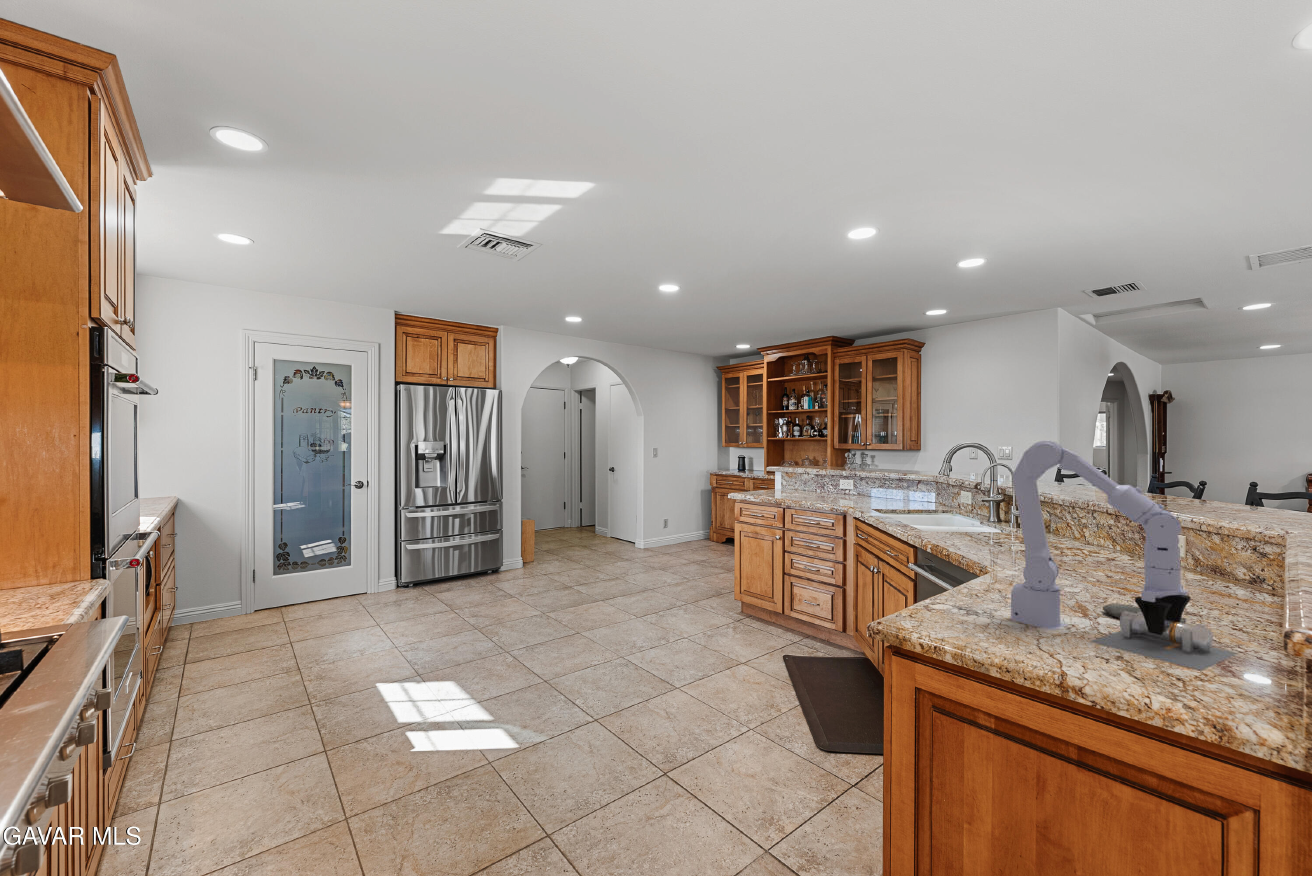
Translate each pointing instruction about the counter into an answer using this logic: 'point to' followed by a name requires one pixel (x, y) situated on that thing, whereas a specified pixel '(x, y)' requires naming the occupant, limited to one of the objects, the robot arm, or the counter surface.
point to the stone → (1119, 608)
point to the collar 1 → (1128, 627)
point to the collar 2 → (1189, 640)
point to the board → (1165, 650)
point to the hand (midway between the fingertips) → (1163, 630)
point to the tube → (1171, 631)
